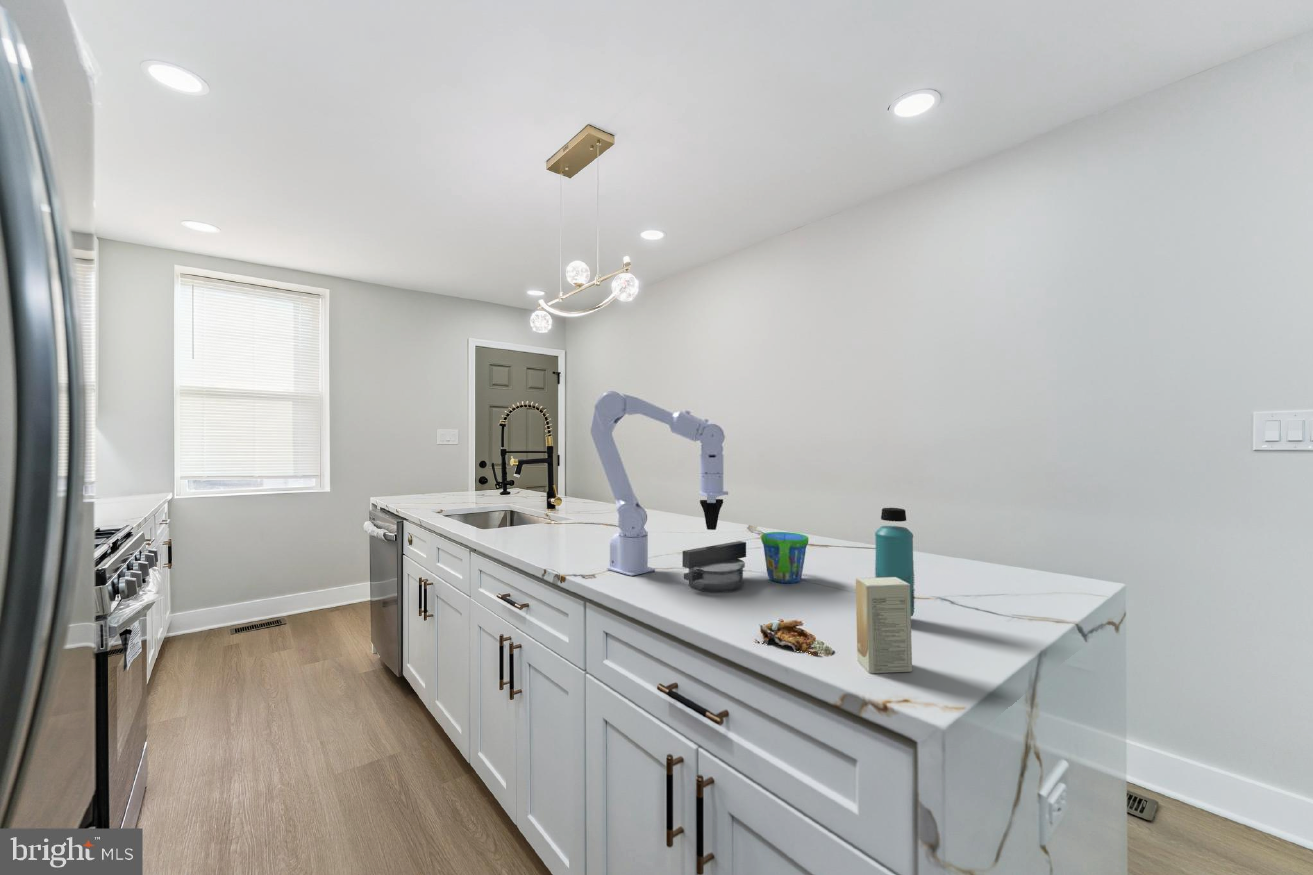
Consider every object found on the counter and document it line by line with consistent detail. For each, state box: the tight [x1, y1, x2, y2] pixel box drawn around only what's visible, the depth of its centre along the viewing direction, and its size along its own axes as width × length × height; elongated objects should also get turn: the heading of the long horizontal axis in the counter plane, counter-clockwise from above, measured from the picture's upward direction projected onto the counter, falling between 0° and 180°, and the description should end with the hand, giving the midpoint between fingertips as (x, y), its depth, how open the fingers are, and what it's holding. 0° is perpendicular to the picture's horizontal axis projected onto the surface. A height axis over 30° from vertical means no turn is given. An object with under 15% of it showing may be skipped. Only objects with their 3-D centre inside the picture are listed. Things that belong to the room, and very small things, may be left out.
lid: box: [681, 540, 747, 572], centre depth 118 cm, size 18×13×4 cm
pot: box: [683, 561, 746, 593], centre depth 118 cm, size 18×12×4 cm, turn 134°
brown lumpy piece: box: [752, 618, 834, 657], centre depth 84 cm, size 7×12×4 cm, turn 55°
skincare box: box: [855, 577, 913, 674], centre depth 75 cm, size 6×4×12 cm
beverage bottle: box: [874, 507, 916, 617], centre depth 95 cm, size 6×7×20 cm
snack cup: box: [760, 531, 809, 584], centre depth 123 cm, size 16×10×10 cm
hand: (711, 529), depth 130 cm, fingers closed
